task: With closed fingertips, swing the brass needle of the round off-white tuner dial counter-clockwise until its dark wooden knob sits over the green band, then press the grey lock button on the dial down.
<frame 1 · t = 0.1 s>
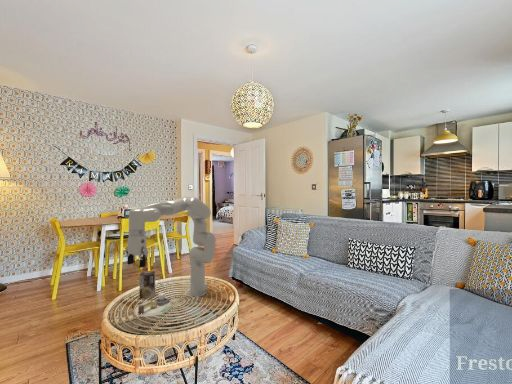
hand: (136, 265, 128), 31 cm above the table, fingers open, 9 cm apart
lock button: (161, 297, 150), point 5 cm above the table, slide at 0.0 cm
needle: (147, 306, 141), point 4 cm above the table, hinge at 0.0°
dial plate: (153, 309, 144), on the table
coffee box: (147, 298, 160), on the table
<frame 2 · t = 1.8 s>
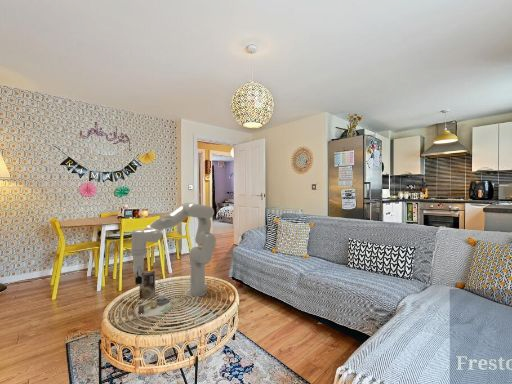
hand: (138, 283, 140), 17 cm above the table, fingers closed
nothing on the table moved.
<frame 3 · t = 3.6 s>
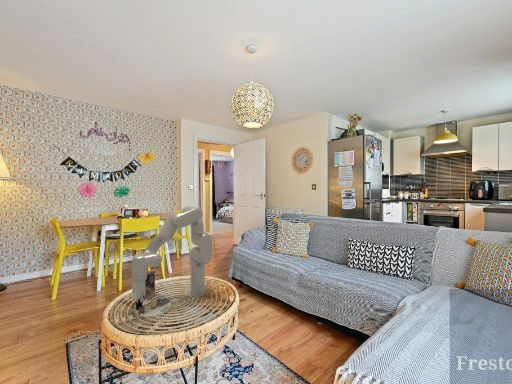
hand: (139, 309, 140), 2 cm above the table, fingers closed
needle: (147, 306, 141), point 4 cm above the table, hinge at 3.1°, touching gripper
everything else where it was.
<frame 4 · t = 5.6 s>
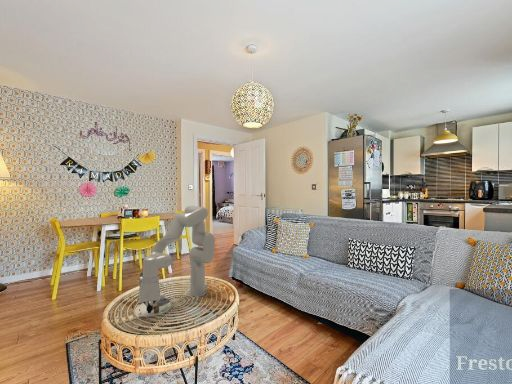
hand: (149, 311, 136), 3 cm above the table, fingers closed
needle: (155, 306, 141), point 4 cm above the table, hinge at 64.1°, touching gripper
everything else where it was.
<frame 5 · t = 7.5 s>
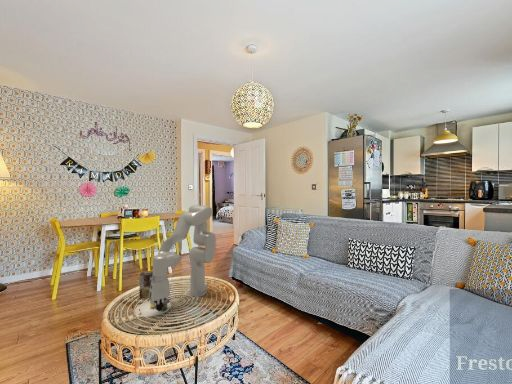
hand: (159, 310, 138), 3 cm above the table, fingers closed
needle: (159, 304, 143), point 4 cm above the table, hinge at 99.7°
everything else where it was.
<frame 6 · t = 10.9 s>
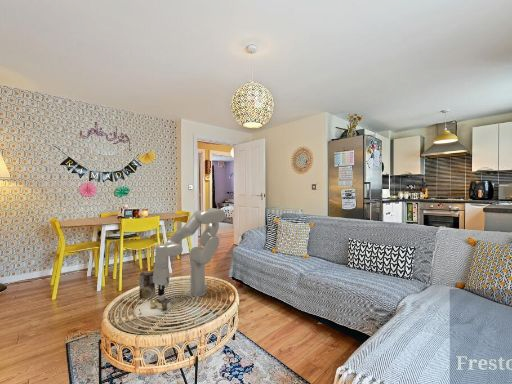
hand: (161, 294, 150), 6 cm above the table, fingers closed
lock button: (161, 297, 150), point 4 cm above the table, slide at 0.6 cm, touching gripper
everything else where it was.
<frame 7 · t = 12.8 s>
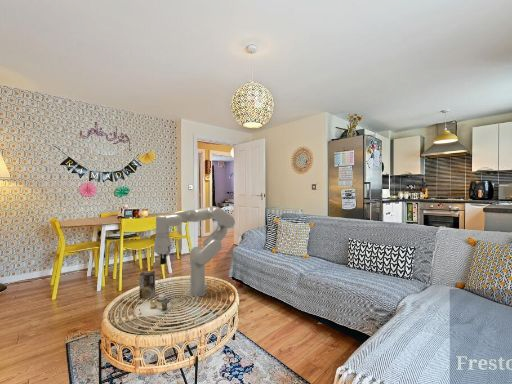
hand: (163, 263, 154), 24 cm above the table, fingers closed
lock button: (161, 298, 150), point 4 cm above the table, slide at 0.9 cm
everything else where it was.
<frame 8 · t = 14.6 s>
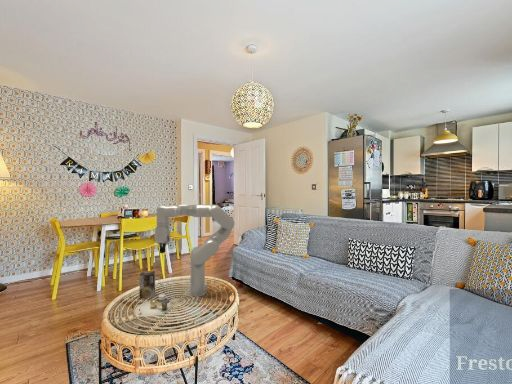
hand: (162, 252, 161), 29 cm above the table, fingers closed
nothing on the table moved.
at the end: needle at +100° (first picture: +0°); lock button slide at 0.9 cm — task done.
